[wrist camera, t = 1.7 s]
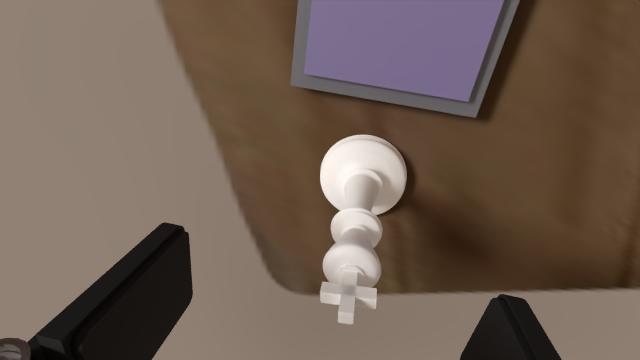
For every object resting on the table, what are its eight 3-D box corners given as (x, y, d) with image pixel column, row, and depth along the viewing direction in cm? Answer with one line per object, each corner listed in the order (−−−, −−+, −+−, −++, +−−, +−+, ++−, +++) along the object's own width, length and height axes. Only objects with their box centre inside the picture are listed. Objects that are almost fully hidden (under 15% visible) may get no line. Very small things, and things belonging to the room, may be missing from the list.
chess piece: (401, 215, 18) (423, 387, 9) (320, 208, 19) (268, 360, 10) (412, 136, 16) (453, 258, 7) (320, 132, 17) (254, 237, 8)
